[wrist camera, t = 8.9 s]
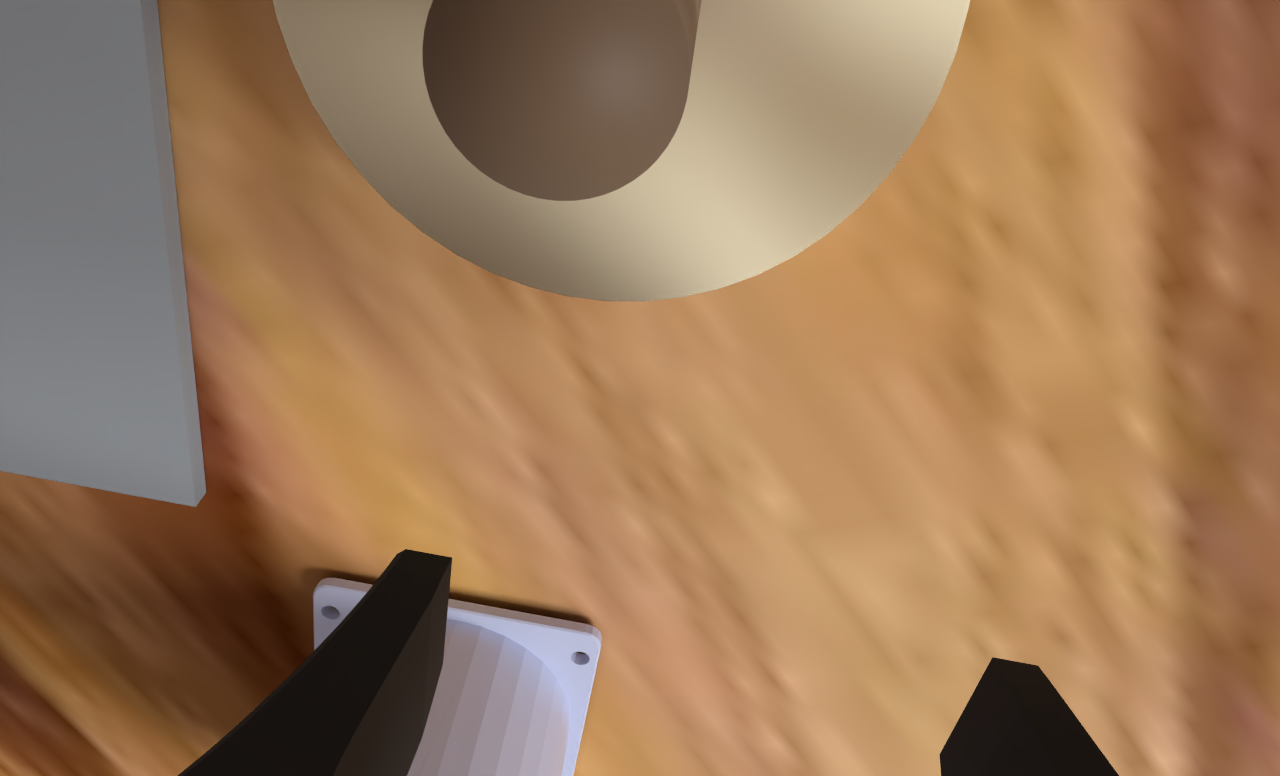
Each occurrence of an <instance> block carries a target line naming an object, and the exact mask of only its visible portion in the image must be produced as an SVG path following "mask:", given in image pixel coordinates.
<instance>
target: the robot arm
mask: <svg viewBox="0 0 1280 776" xmlns="http://www.w3.org/2000/svg"><path fill="white" fill-rule="evenodd" d="M451 564H452V558H451V557H445V556H440V555H434V554H429V553H424V552H418V551H413V550H407V549H406V550H404V551H402V552H400V553H398V554H397V555H396V556H395V558H394V559H393V560H392V562H391V563H390V564H389V566H388V567H387V568H386V570H385V571H384V572H383V573H382V575H381V576H380V577H379V578H378V580H377V581H376V582H375V583H374V585H372V584H366V583H361V582H355V581H350V580H344V579H339V578H325V579H322V580H321V581H320V582H319V583H318V584H317V586H316V588H315V590H314V593H313V619H314V651H313V653H312V654H311V655H310V656H309V657H308V658H307V659H306V660H305V661H304V662H303V663H302V664H301V665H300V666H299V667H298V668H297V669H296V670H295V671H294V672H293V673H292V674H291V675H290V676H289V677H288V678H287V679H286V680H285V681H284V682H283V683H282V684H281V685H280V686H279V687H278V688H277V689H275V690H274V691H273V692H272V693H271V694H270V695H269V696H268V697H267V698H266V699H265V700H264V701H263V702H262V703H261V704H260V705H259V706H258V707H256V708H255V709H254V710H253V711H252V712H251V713H250V714H249V715H248V716H247V717H246V718H245V719H244V720H243V721H242V722H240V723H239V724H238V725H237V726H236V727H235V728H234V729H233V730H231V731H230V732H229V733H228V734H227V735H226V736H225V737H223V738H222V739H221V740H220V741H219V742H218V743H217V744H215V745H214V746H213V747H212V748H211V749H210V750H208V751H207V752H206V753H205V754H204V755H202V756H201V757H200V758H199V759H198V760H196V761H195V762H194V763H193V764H191V765H190V766H189V767H188V768H187V769H185V770H184V771H183V772H182V773H180V774H179V775H178V776H573V774H574V770H575V765H576V760H577V756H578V751H579V746H580V742H581V737H582V733H583V728H584V723H585V719H586V714H587V709H588V705H589V700H590V695H591V691H592V686H593V681H594V677H595V672H596V667H597V663H598V658H599V653H600V649H601V643H602V635H601V633H600V631H599V630H598V629H597V628H595V627H594V626H591V625H588V624H584V623H579V622H573V621H568V620H563V619H557V618H552V617H546V616H541V615H535V614H530V613H524V612H519V611H513V610H508V609H503V608H497V607H492V606H486V605H481V604H475V603H470V602H464V601H459V600H453V599H449V588H450V576H451ZM330 606H332V607H335V608H336V609H334V608H331V607H330ZM577 652H583V653H586V654H580V653H577ZM940 764H941V776H1119V775H1118V774H1117V772H1116V771H1115V770H1114V768H1113V767H1112V766H1111V764H1110V763H1109V762H1108V760H1107V759H1106V757H1105V756H1104V755H1103V753H1102V752H1101V751H1100V749H1099V748H1098V747H1097V745H1096V744H1095V742H1094V741H1093V740H1092V738H1091V737H1090V736H1089V734H1088V733H1087V732H1086V730H1085V729H1084V727H1083V726H1082V725H1081V723H1080V722H1079V721H1078V719H1077V718H1076V716H1075V715H1074V714H1073V712H1072V711H1071V710H1070V708H1069V707H1068V705H1067V704H1066V703H1065V701H1064V700H1063V699H1062V697H1061V696H1060V694H1059V693H1058V692H1057V690H1056V689H1055V688H1054V686H1053V685H1052V684H1051V682H1050V681H1049V680H1048V678H1047V677H1046V676H1045V674H1044V673H1043V672H1042V670H1041V669H1040V668H1039V667H1038V666H1036V665H1031V664H1025V663H1020V662H1015V661H1009V660H1004V659H998V658H992V660H991V661H990V663H989V665H988V667H987V669H986V671H985V672H984V674H983V676H982V678H981V680H980V682H979V683H978V685H977V687H976V689H975V691H974V693H973V694H972V696H971V698H970V700H969V702H968V704H967V705H966V707H965V709H964V711H963V713H962V715H961V716H960V718H959V720H958V722H957V724H956V726H955V727H954V729H953V731H952V733H951V735H950V737H949V738H948V740H947V742H946V744H945V746H944V748H943V749H942V751H941V753H940Z"/></svg>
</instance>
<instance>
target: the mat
mask: <svg viewBox="0 0 1280 776" xmlns="http://www.w3.org/2000/svg"><path fill="white" fill-rule="evenodd" d="M0 471H4V472H9V473H14V474H20V475H25V476H31V477H36V478H41V479H47V480H52V481H58V482H63V483H69V484H74V485H79V486H85V487H90V488H96V489H101V490H107V491H112V492H117V493H123V494H128V495H134V496H139V497H144V498H150V499H155V500H161V501H166V502H172V503H177V504H182V505H188V506H193V507H196V506H197V504H198V503H199V502H200V500H201V499H202V498H203V496H204V495H205V494H206V483H205V473H204V463H203V453H202V443H201V433H200V423H199V413H198V403H197V393H196V383H195V373H194V363H193V353H192V343H191V333H190V323H189V313H188V303H187V293H186V283H185V273H184V263H183V253H182V243H181V233H180V223H179V213H178V203H177V193H176V183H175V173H174V163H173V153H172V143H171V133H170V123H169V113H168V103H167V93H166V83H165V73H164V63H163V53H162V43H161V33H160V23H159V13H158V3H157V0H0Z"/></svg>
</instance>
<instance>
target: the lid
mask: <svg viewBox="0 0 1280 776" xmlns="http://www.w3.org/2000/svg"><path fill="white" fill-rule="evenodd" d="M969 4H970V0H273V5H274V9H275V14H276V17H277V20H278V23H279V26H280V29H281V31H282V34H283V37H284V40H285V43H286V46H287V49H288V52H289V55H290V58H291V60H292V63H293V65H294V67H295V69H296V71H297V73H298V75H299V77H300V80H301V82H302V84H303V86H304V88H305V90H306V92H307V95H308V97H309V99H310V101H311V103H312V104H313V106H314V108H315V109H316V111H317V113H318V114H319V116H320V117H321V119H322V121H323V122H324V124H325V126H326V127H327V129H328V131H329V132H330V134H331V135H332V137H333V139H334V140H335V142H336V143H337V144H338V145H339V147H340V148H341V149H342V151H343V152H344V153H345V155H346V156H347V157H348V158H349V160H350V161H351V162H352V164H353V165H354V166H355V168H356V169H357V170H358V171H359V173H360V174H361V175H362V176H363V177H364V178H365V179H366V180H367V181H368V182H369V184H370V185H371V186H372V187H373V188H374V189H375V190H376V191H377V192H378V193H379V194H380V195H381V196H382V197H383V198H384V199H385V200H386V201H387V202H388V203H389V204H390V205H391V206H392V207H393V208H394V209H395V210H397V211H398V212H399V213H400V214H401V215H403V216H404V217H405V218H406V219H407V220H409V221H410V222H411V223H412V224H413V225H415V226H416V227H417V228H418V229H419V230H421V231H422V232H423V233H425V234H426V235H428V236H429V237H431V238H432V239H434V240H435V241H437V242H438V243H440V244H441V245H443V246H444V247H446V248H447V249H449V250H450V251H452V252H453V253H455V254H456V255H458V256H460V257H462V258H464V259H466V260H468V261H470V262H472V263H474V264H476V265H478V266H480V267H482V268H484V269H486V270H488V271H490V272H491V273H494V274H497V275H499V276H502V277H505V278H507V279H510V280H513V281H515V282H518V283H521V284H523V285H526V286H529V287H532V288H536V289H540V290H544V291H548V292H552V293H556V294H560V295H564V296H570V297H578V298H586V299H593V300H601V301H652V300H661V299H671V298H680V297H685V296H690V295H694V294H698V293H703V292H707V291H711V290H716V289H720V288H723V287H725V286H728V285H731V284H734V283H737V282H739V281H742V280H745V279H748V278H750V277H753V276H756V275H758V274H760V273H762V272H764V271H766V270H768V269H770V268H772V267H774V266H776V265H778V264H780V263H782V262H784V261H786V260H788V259H790V258H792V257H794V256H795V255H797V254H798V253H800V252H801V251H803V250H804V249H806V248H807V247H809V246H810V245H812V244H813V243H815V242H816V241H818V240H819V239H821V238H822V237H824V236H825V235H827V234H828V233H829V232H830V231H832V230H833V229H834V228H835V227H836V226H837V225H839V224H840V223H841V222H842V221H843V220H845V219H846V218H847V217H848V216H849V215H850V214H852V213H853V212H854V211H855V210H856V209H857V208H859V207H860V206H861V205H862V203H863V202H864V201H865V200H866V199H867V198H868V197H869V196H870V195H871V194H872V193H873V192H874V190H875V189H876V188H877V187H878V186H879V185H880V184H881V183H882V182H883V181H884V180H885V178H886V177H887V176H888V175H889V174H890V173H891V171H892V170H893V168H894V167H895V166H896V164H897V163H898V162H899V160H900V159H901V157H902V156H903V155H904V153H905V152H906V150H907V149H908V148H909V146H910V145H911V144H912V142H913V141H914V139H915V138H916V136H917V134H918V133H919V131H920V129H921V127H922V125H923V124H924V122H925V120H926V118H927V116H928V114H929V113H930V111H931V109H932V107H933V105H934V104H935V102H936V100H937V98H938V96H939V94H940V91H941V89H942V86H943V84H944V81H945V79H946V77H947V74H948V72H949V69H950V67H951V64H952V62H953V59H954V57H955V54H956V52H957V48H958V44H959V41H960V37H961V33H962V30H963V26H964V22H965V19H966V15H967V12H968V8H969Z"/></svg>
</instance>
